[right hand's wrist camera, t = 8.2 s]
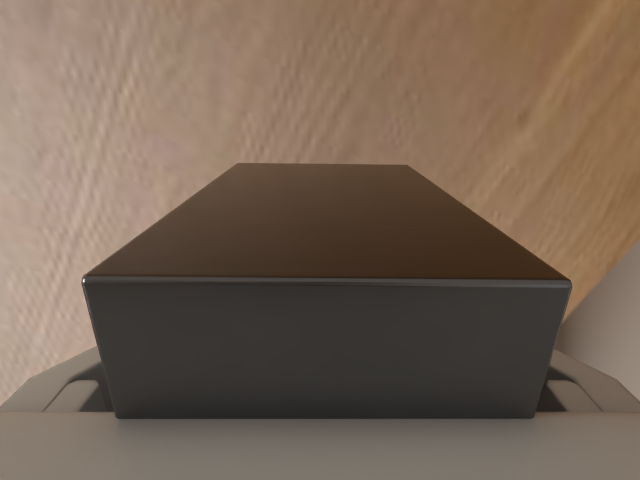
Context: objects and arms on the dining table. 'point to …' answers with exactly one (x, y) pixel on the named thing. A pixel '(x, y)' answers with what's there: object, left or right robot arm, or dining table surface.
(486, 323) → the bar
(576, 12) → the dining table surface
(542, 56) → the dining table surface
